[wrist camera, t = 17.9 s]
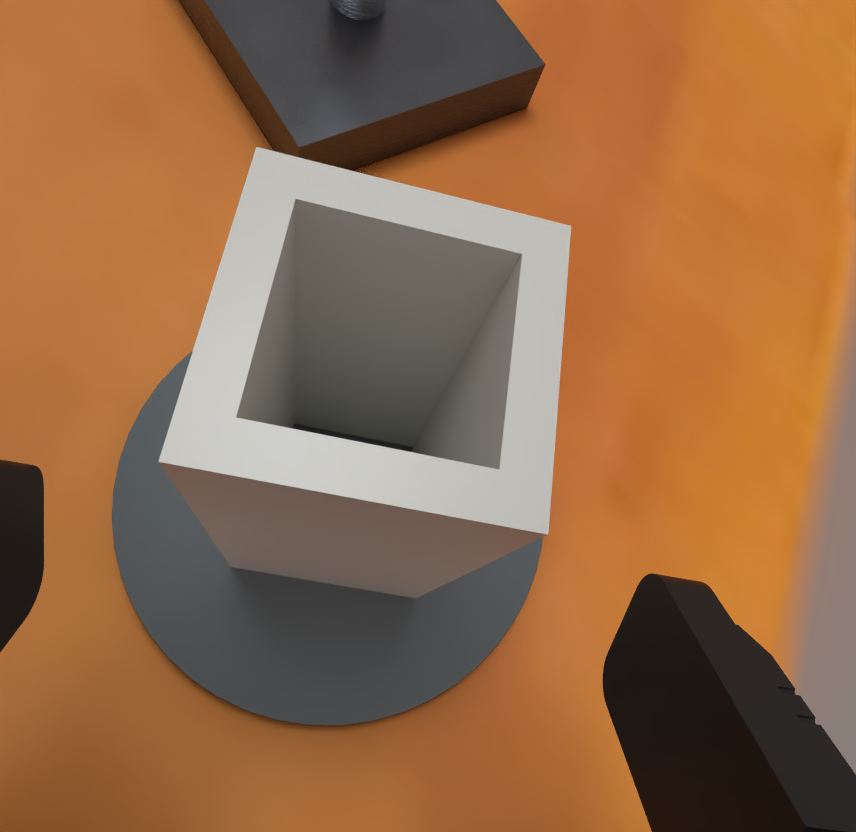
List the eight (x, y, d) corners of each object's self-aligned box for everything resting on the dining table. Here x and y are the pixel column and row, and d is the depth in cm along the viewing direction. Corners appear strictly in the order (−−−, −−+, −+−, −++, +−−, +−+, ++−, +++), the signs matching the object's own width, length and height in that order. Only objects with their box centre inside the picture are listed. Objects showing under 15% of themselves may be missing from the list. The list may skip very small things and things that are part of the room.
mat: (245, 828, 16) (243, 834, 15) (44, 415, 18) (36, 407, 18) (612, 569, 20) (621, 567, 19) (408, 260, 22) (411, 249, 22)
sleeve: (415, 598, 18) (548, 534, 9) (230, 566, 17) (158, 461, 8) (440, 428, 20) (570, 226, 10) (274, 394, 19) (256, 146, 10)
